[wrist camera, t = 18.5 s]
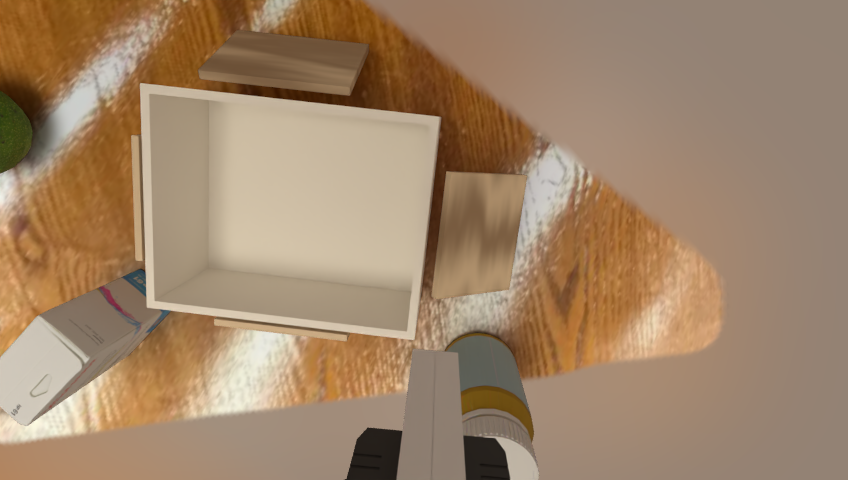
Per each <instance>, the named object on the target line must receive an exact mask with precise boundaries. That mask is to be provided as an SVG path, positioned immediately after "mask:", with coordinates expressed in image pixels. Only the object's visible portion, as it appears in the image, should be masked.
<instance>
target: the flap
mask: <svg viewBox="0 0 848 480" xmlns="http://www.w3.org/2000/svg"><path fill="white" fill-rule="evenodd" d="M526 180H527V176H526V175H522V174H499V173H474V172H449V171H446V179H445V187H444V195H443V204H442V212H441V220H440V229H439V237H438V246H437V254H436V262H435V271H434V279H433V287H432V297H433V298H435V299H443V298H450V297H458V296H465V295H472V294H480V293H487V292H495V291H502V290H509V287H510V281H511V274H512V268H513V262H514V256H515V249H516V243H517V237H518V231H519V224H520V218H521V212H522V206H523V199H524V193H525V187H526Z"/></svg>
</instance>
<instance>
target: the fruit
mask: <svg viewBox="0 0 848 480" xmlns="http://www.w3.org/2000/svg"><path fill="white" fill-rule="evenodd" d="M32 134H33V132H32V128H31V124H30V121H29V119H28V118H27V116H26V115H25V113H24V112H23V110H22V109H21V108H20V107H19V106H18V105H17V104H16V103H15V102H14V101H13V100H12V99H11V98H10V97H9V96H7V95H6V94H5V93H3V92H2V91H0V173H3V172H5V171H7V170H9V169H11V168H13V167H15V166H16V165H17V164H18V163H19V162H20V161H21V160H22V159H23V158H24V157H25V156H26V155H27V153H28V151H29V149H30V147H31V142H32Z"/></svg>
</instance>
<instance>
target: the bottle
mask: <svg viewBox="0 0 848 480" xmlns="http://www.w3.org/2000/svg"><path fill="white" fill-rule="evenodd" d="M445 352H455V353H458V361H459V377H460V393H461V409H462V425H463V435H466V436H477V437H488V438H496V440H497V441H498V442H499V444H500V445H501V446H502V448H503V449H504V450H505V452H506V457H507V463H508V469H509V474H510V480H539V479H538V478H539V470H538V464H537V460H536V456H535V453H534V449H533V445H532V440H533V435H534V430H533V424H532V419H531V414H530V411H529V407H528V404H527V400H526V396H525V393H524V390H523V386H522V382H521V378H520V375H519V371H518V368H517V364H516V361H515V358H514V355H513V354H512V352H511V350H510V348H509V347H508V346H507V345H506V344H505V343H504V342H503V341H502V340H500V339H499V338H496V337H494V336H492V335H489V334H483V333H473V334H467V335H464V336H462V337H460V338H458V339H456V340H455V341H453V342H452V343H451V344H450V345H449V346H448V347H447V349H446V350H445Z"/></svg>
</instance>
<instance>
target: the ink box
mask: <svg viewBox="0 0 848 480" xmlns="http://www.w3.org/2000/svg"><path fill="white" fill-rule="evenodd" d="M169 312H170V310H162V309H154V308H147V297H146V273H145V272H144V271H142V270H141V269H139V270H137V271H135V272H132V273H130V274H128V275H126V276H124V277H121V278H119V279H117V280H115V281H112V282H110V283H108V284H106V285H104V286H102V287H99V288H97V289H95V290H93V291H90V292H88V293H86V294H84V295H81V296H79V297H77V298H75V299H72V300H70V301H68V302H66V303H64V304H61V305H59V306H57V307H55V308H52V309H50V310H48V311H46V312H44V313H42V314H40V315H38V316H37V317H36V318H35V319H34V320H33V321H32V322H31V323H30V325H29V326H28V327H27V328H26V329H25V330H24V331H23V333H22V334H21V335H20V336H19V337H18V338H17V339H16V340H15V341H14V343H13V344H12V345H11V346H10V347H9V348H8V349H7V350H6V352H5V353H4V354H3V355H2V356H1V357H0V407H1V408H2V409H3V410H4V411H5V412H6V413H8V414H9V415H10V416H11V417H12V418H13V419H14V420H15V421H17V422H18V423H19V424H21V425H24V426H28V425H29V424H31V423H32V422H33V421H35V420H36V419H38V418H39V417H40V416H42V415H43V414H45V413H46V412H48V411H49V410H51V409H52V408H53V407H55V406H56V405H58V404H59V403H61V402H62V401H63V400H65V399H66V398H68V397H69V396H71V395H72V394H74V393H75V392H77V391H78V390H79V389H81V388H82V387H84V386H85V385H87V384H88V383H89V382H91V381H92V380H94V379H95V378H97V377H98V376H100V375H101V374H102V373H104V372H105V371H107V370H108V369H109V368H111V367H112V366H114V365H115V364H117V363H118V362H120V361H121V360H123V359H124V358H126V357H127V356H128V355H129V354H130V353H131V352H132V351H133V350H134V349H135V348H136V347H137V346H138V345H139V344H140V343H141V342H142V341H143V340H144V339H145V338H146V337H147V335H148V334H149V333H150V332H151V331H152V330H153V329H154V328H155V327H156V326H157V325H158V324H159V323H160V322H161V321H162V320H163V319H164V318H165V317H166V316H167V315H168V313H169Z"/></svg>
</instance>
